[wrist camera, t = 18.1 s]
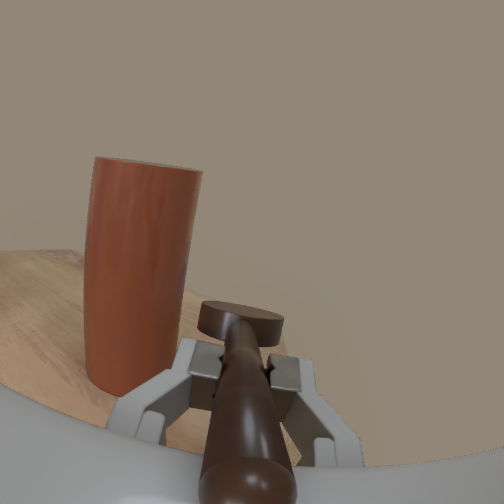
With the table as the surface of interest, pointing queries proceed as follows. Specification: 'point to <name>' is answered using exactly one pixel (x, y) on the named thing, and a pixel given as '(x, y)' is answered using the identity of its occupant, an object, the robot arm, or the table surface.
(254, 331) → the brown disc-ended rod
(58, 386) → the table surface
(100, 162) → the canister
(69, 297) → the table surface
